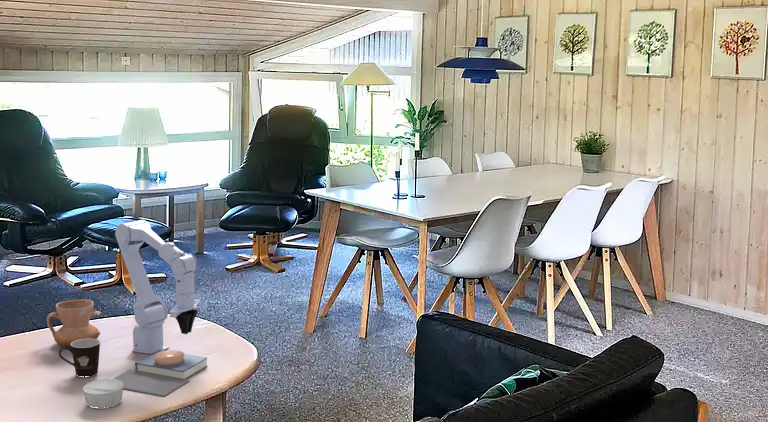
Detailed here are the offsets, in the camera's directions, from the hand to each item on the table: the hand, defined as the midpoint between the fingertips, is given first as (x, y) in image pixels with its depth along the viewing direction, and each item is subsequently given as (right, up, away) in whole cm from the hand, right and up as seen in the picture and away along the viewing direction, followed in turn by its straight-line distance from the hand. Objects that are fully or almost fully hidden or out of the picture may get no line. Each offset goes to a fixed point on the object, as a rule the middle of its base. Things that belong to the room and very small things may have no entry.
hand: (186, 332), depth 280 cm
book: (-3, -11, -6) cm, 13 cm away
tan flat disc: (-4, -8, -7) cm, 11 cm away
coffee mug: (-30, -11, -11) cm, 34 cm away
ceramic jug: (-42, -6, +16) cm, 45 cm away
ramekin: (-16, -16, -33) cm, 40 cm away
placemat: (-8, -13, -18) cm, 23 cm away
